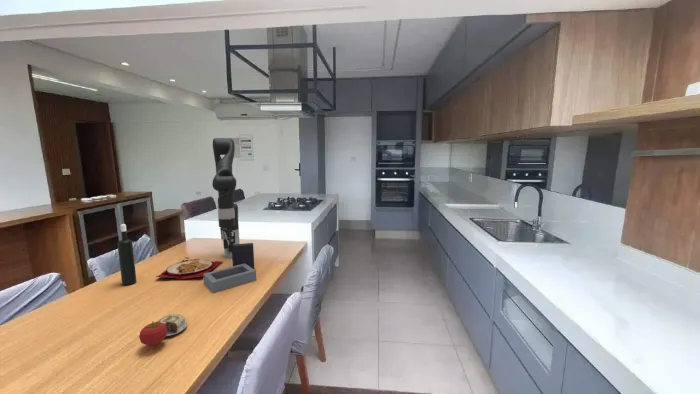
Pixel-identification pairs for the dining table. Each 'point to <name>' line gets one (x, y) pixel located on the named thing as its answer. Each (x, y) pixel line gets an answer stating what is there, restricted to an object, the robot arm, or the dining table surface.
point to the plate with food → (189, 269)
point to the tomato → (153, 333)
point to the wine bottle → (126, 258)
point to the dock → (229, 277)
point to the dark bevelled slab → (243, 254)
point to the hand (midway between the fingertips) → (228, 249)
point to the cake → (174, 323)
